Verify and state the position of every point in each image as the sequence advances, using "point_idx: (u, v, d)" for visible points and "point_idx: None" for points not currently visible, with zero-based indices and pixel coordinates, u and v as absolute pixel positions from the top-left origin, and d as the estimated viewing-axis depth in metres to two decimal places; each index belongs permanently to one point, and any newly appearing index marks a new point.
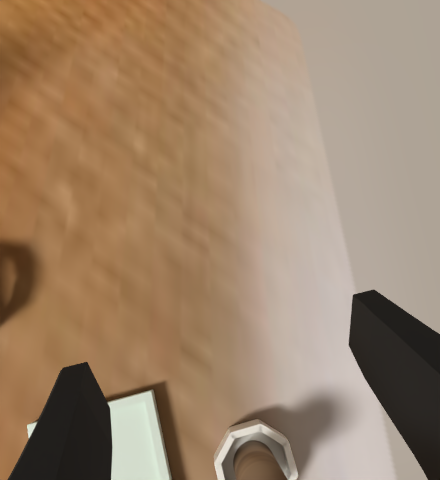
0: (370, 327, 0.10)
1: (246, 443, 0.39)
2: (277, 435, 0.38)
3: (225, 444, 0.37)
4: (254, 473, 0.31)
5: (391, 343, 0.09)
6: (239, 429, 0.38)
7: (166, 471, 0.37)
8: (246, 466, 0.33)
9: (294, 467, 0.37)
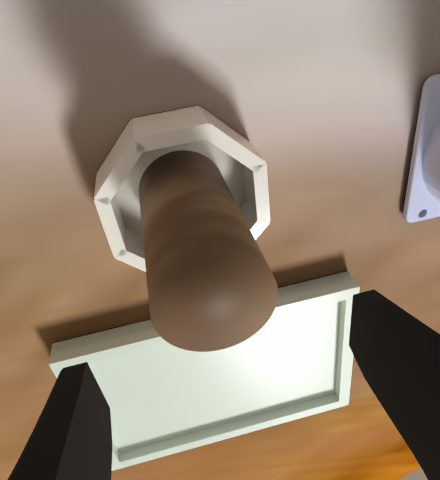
0: (370, 327, 0.10)
1: None
2: (119, 164, 0.15)
3: (137, 265, 0.18)
4: (169, 327, 0.12)
5: (391, 343, 0.09)
6: None
7: None
8: None
9: (192, 130, 0.15)
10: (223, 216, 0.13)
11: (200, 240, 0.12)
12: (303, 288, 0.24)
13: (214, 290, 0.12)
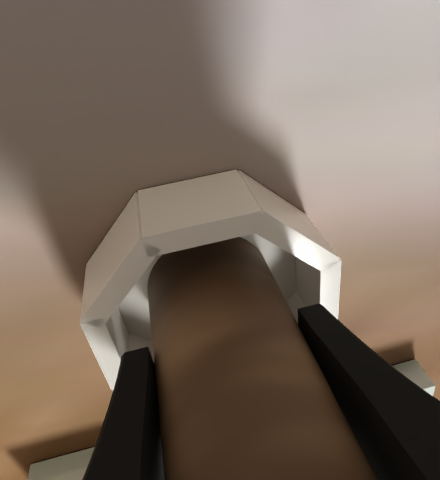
0: (312, 342, 0.10)
1: None
2: (119, 274, 0.10)
3: None
4: None
5: (328, 360, 0.09)
6: None
7: None
8: None
9: (235, 221, 0.10)
10: (302, 397, 0.08)
11: None
12: None
13: None
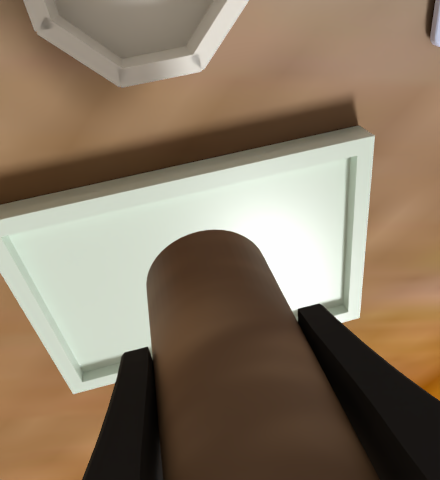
0: (312, 342, 0.10)
1: None
2: None
3: (70, 51, 0.13)
4: None
5: (328, 360, 0.09)
6: None
7: (145, 190, 0.17)
8: None
9: None
10: (300, 391, 0.08)
11: (274, 479, 0.06)
12: (302, 142, 0.19)
13: None
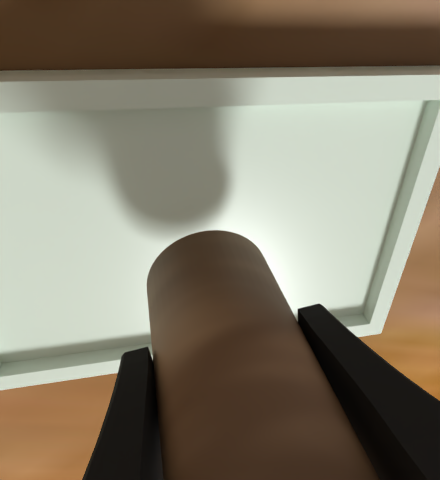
0: (312, 342, 0.10)
1: None
2: None
3: None
4: None
5: (328, 360, 0.09)
6: None
7: (139, 85, 0.11)
8: None
9: None
10: (300, 392, 0.08)
11: None
12: (370, 69, 0.13)
13: None
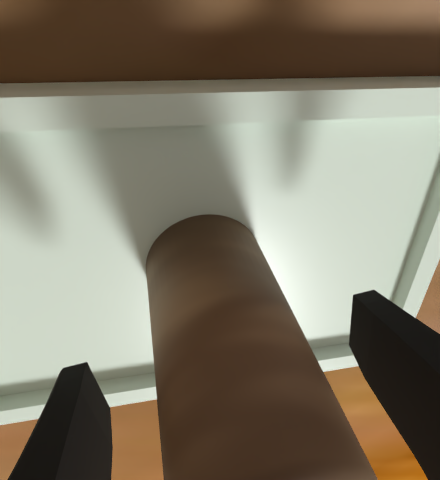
0: (370, 327, 0.10)
1: None
2: None
3: None
4: None
5: (391, 343, 0.09)
6: None
7: (141, 101, 0.10)
8: None
9: None
10: (284, 354, 0.08)
11: (256, 425, 0.07)
12: (397, 80, 0.12)
13: None
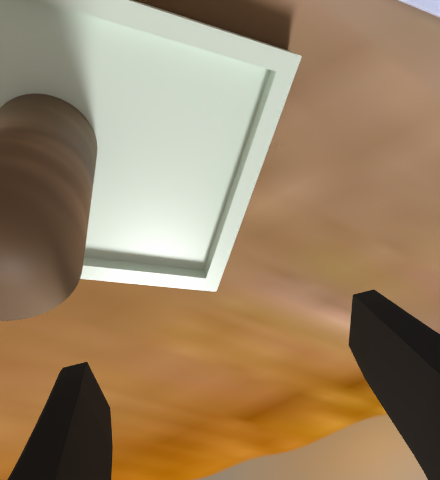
0: (370, 327, 0.10)
1: None
2: None
3: None
4: None
5: (391, 343, 0.09)
6: None
7: None
8: None
9: None
10: (45, 158, 0.11)
11: None
12: (222, 29, 0.15)
13: None
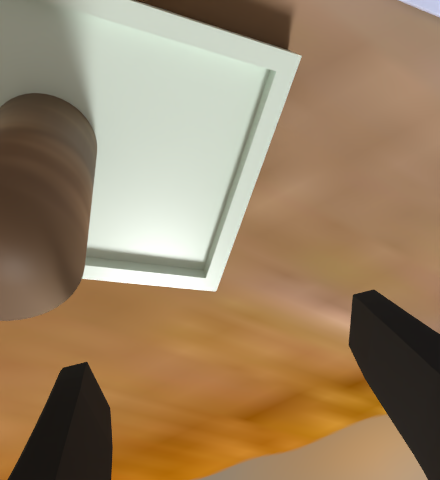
0: (370, 327, 0.10)
1: None
2: None
3: None
4: None
5: (391, 343, 0.09)
6: None
7: None
8: None
9: None
10: (47, 158, 0.11)
11: None
12: (222, 29, 0.15)
13: None
